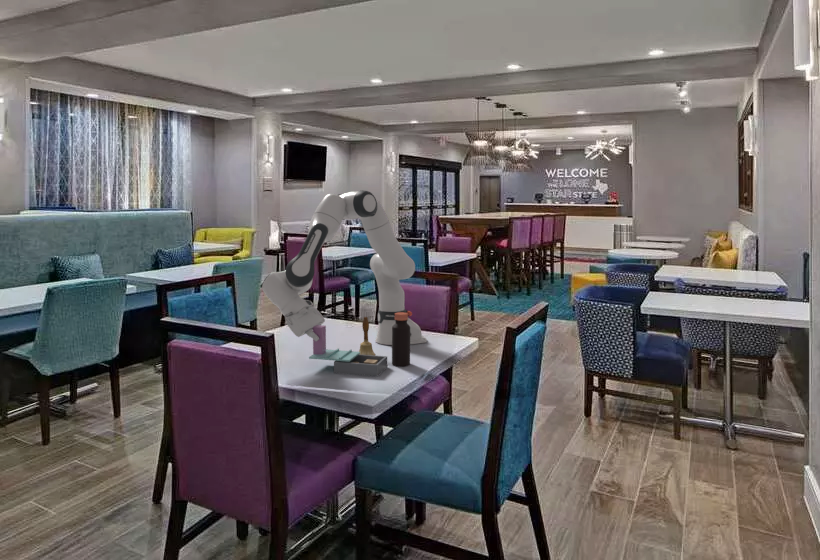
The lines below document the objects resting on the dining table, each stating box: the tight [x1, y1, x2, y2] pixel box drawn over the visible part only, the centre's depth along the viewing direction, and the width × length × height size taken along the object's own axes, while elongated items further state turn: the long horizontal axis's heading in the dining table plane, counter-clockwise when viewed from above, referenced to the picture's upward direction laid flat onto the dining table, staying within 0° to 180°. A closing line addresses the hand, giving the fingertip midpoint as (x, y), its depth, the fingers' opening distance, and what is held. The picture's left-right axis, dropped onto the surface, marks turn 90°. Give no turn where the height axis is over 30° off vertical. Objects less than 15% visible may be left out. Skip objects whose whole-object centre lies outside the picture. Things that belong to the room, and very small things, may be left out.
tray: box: [333, 354, 388, 378], centre depth 207 cm, size 16×12×5 cm
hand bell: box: [358, 316, 377, 356], centre depth 227 cm, size 8×8×16 cm
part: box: [364, 359, 378, 364], centre depth 208 cm, size 4×4×3 cm
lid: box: [308, 324, 360, 362], centre depth 208 cm, size 15×12×11 cm
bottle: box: [391, 312, 411, 368], centre depth 214 cm, size 7×7×20 cm
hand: (321, 338), depth 210 cm, fingers closed on lid, 3 cm apart
